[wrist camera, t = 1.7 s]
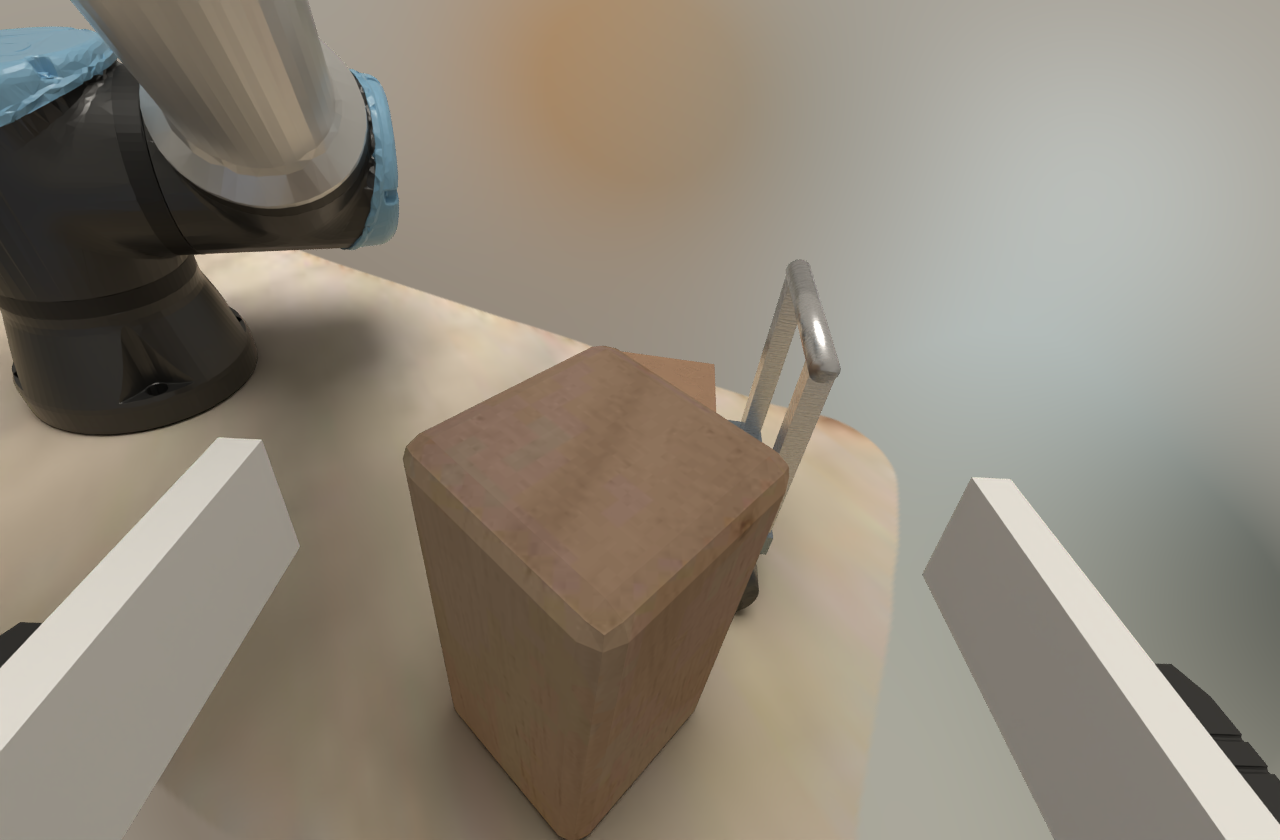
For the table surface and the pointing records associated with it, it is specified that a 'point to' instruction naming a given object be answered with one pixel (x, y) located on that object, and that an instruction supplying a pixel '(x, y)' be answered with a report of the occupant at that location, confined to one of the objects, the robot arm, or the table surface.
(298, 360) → the table surface
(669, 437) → the wooden block
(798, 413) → the trolley
